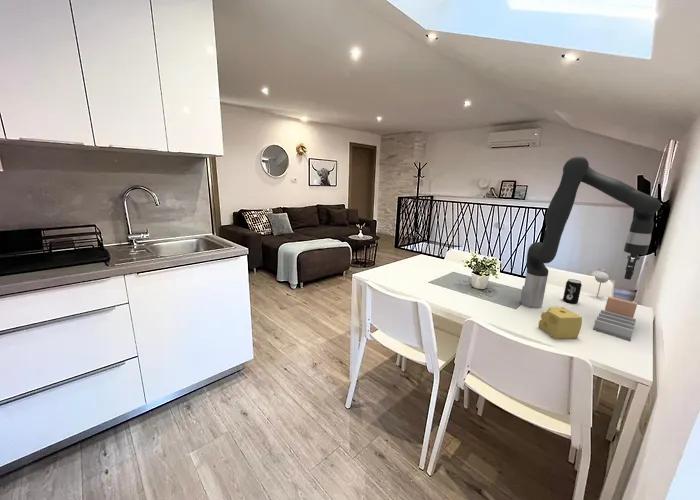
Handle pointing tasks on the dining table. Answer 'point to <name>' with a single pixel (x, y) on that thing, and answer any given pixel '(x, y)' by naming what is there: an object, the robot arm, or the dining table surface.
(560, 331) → the cheese
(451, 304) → the dining table surface
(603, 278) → the lollipop
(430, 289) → the dining table surface
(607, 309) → the peach wooden block
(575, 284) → the beverage can
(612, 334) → the dish rack
